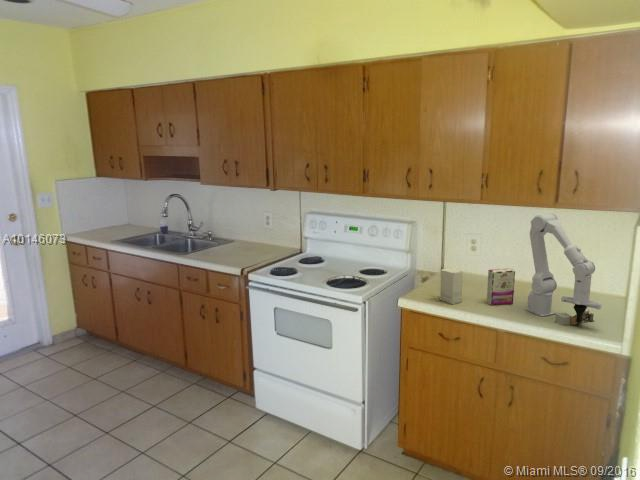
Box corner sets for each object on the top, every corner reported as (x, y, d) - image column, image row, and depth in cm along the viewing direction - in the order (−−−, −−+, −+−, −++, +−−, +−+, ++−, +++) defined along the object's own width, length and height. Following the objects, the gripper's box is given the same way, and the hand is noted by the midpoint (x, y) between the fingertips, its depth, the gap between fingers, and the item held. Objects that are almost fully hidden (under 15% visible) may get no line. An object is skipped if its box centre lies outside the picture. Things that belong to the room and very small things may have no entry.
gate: (582, 316, 200) (583, 308, 199) (590, 318, 198) (590, 310, 197) (568, 323, 193) (569, 315, 192) (576, 325, 190) (577, 317, 190)
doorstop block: (555, 321, 197) (555, 313, 196) (564, 320, 197) (565, 312, 197) (561, 325, 192) (562, 317, 192) (571, 324, 193) (572, 316, 192)
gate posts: (575, 319, 198) (576, 312, 197) (585, 317, 200) (585, 310, 199) (585, 323, 194) (585, 316, 193) (594, 321, 196) (595, 314, 196)
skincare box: (461, 302, 220) (463, 271, 217) (451, 305, 217) (453, 273, 214) (448, 297, 227) (450, 266, 224) (439, 299, 224) (440, 268, 221)
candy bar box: (507, 300, 222) (510, 267, 218) (513, 304, 217) (516, 270, 214) (485, 302, 220) (488, 269, 217) (491, 305, 215) (493, 272, 212)
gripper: (559, 288, 192) (556, 319, 194) (598, 296, 181) (595, 329, 184) (566, 285, 196) (563, 315, 199) (604, 292, 186) (601, 324, 188)
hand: (579, 321), depth 192 cm, fingers closed, pressing on gate
